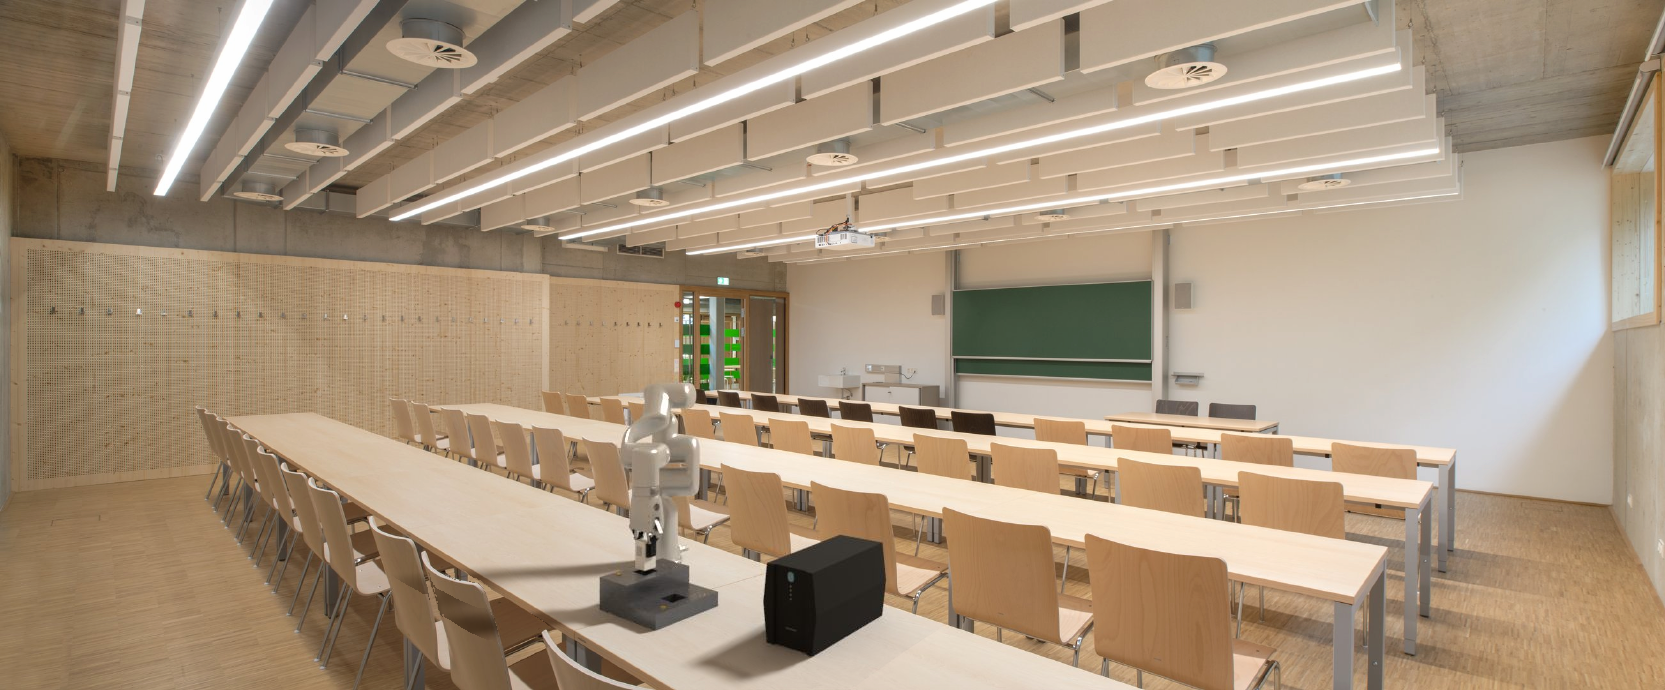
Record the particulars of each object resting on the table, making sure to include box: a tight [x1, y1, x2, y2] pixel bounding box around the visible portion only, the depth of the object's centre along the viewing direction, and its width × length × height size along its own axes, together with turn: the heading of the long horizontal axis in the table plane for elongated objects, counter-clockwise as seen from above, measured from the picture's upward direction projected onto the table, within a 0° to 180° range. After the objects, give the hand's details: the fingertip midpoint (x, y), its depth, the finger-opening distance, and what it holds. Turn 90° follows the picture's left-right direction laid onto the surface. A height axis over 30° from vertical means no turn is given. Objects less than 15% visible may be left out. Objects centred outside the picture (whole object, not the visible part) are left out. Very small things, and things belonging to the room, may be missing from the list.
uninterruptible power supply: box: [762, 534, 887, 658], centre depth 191 cm, size 16×34×20 cm, turn 145°
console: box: [599, 558, 719, 631], centre depth 204 cm, size 22×24×9 cm
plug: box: [634, 536, 656, 571], centre depth 208 cm, size 4×4×8 cm
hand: (645, 554), depth 208 cm, fingers closed on plug, 4 cm apart
